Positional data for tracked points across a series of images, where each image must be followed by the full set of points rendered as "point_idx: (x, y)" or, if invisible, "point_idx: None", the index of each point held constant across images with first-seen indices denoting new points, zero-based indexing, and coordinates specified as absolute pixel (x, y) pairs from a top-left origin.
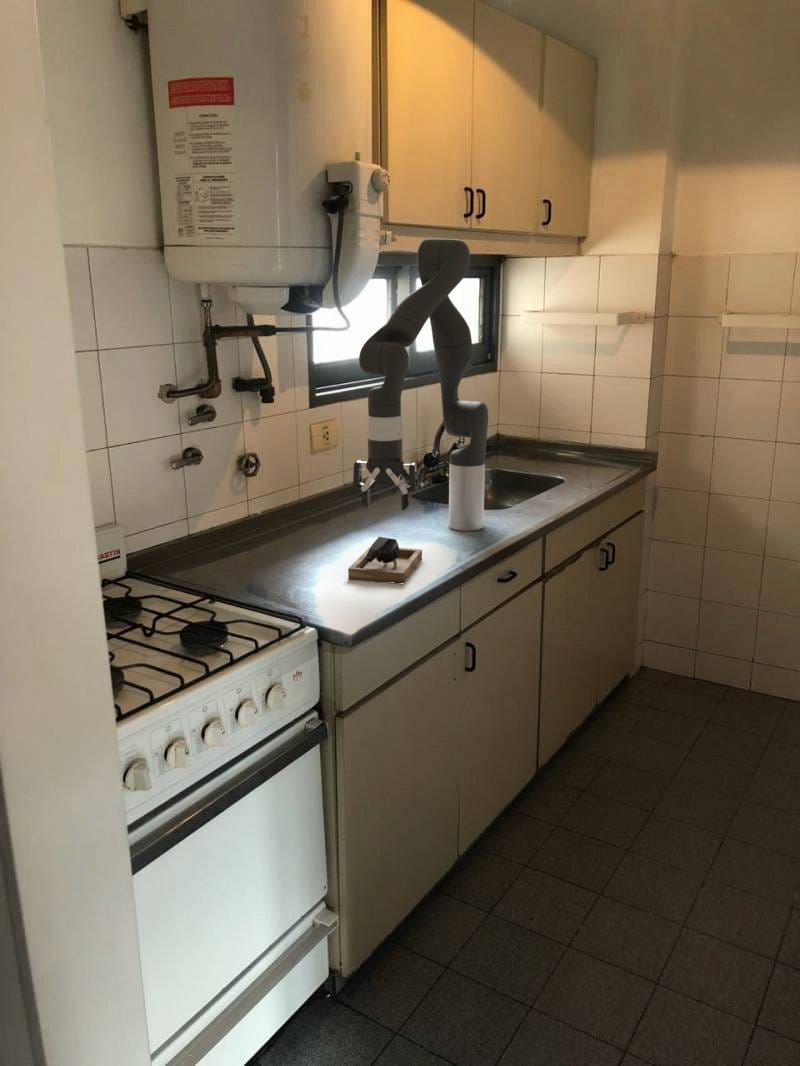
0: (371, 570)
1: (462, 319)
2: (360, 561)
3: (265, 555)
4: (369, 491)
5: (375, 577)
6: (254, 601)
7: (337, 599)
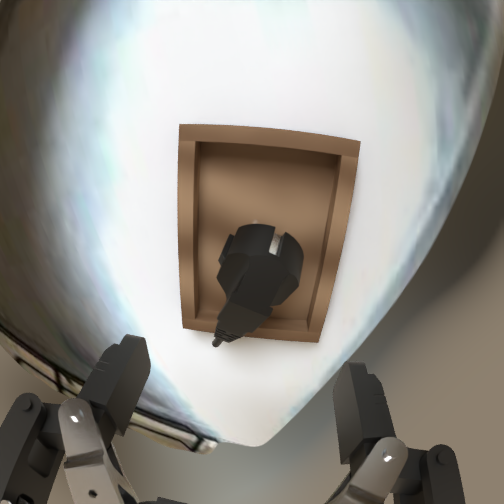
0: None
1: None
2: (192, 279)
3: (2, 193)
4: (113, 411)
5: None
6: None
7: (207, 389)
